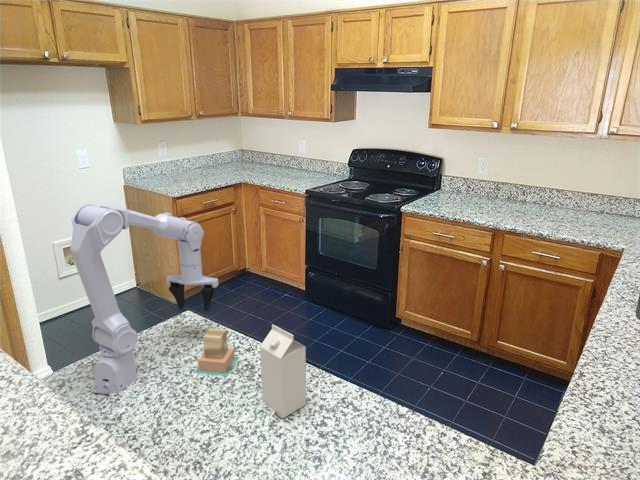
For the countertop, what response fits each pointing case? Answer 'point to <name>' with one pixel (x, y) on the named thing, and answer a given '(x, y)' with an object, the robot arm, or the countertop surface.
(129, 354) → the robot arm
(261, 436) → the countertop surface
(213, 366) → the base block
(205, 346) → the maple block
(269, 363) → the milk carton
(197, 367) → the board
